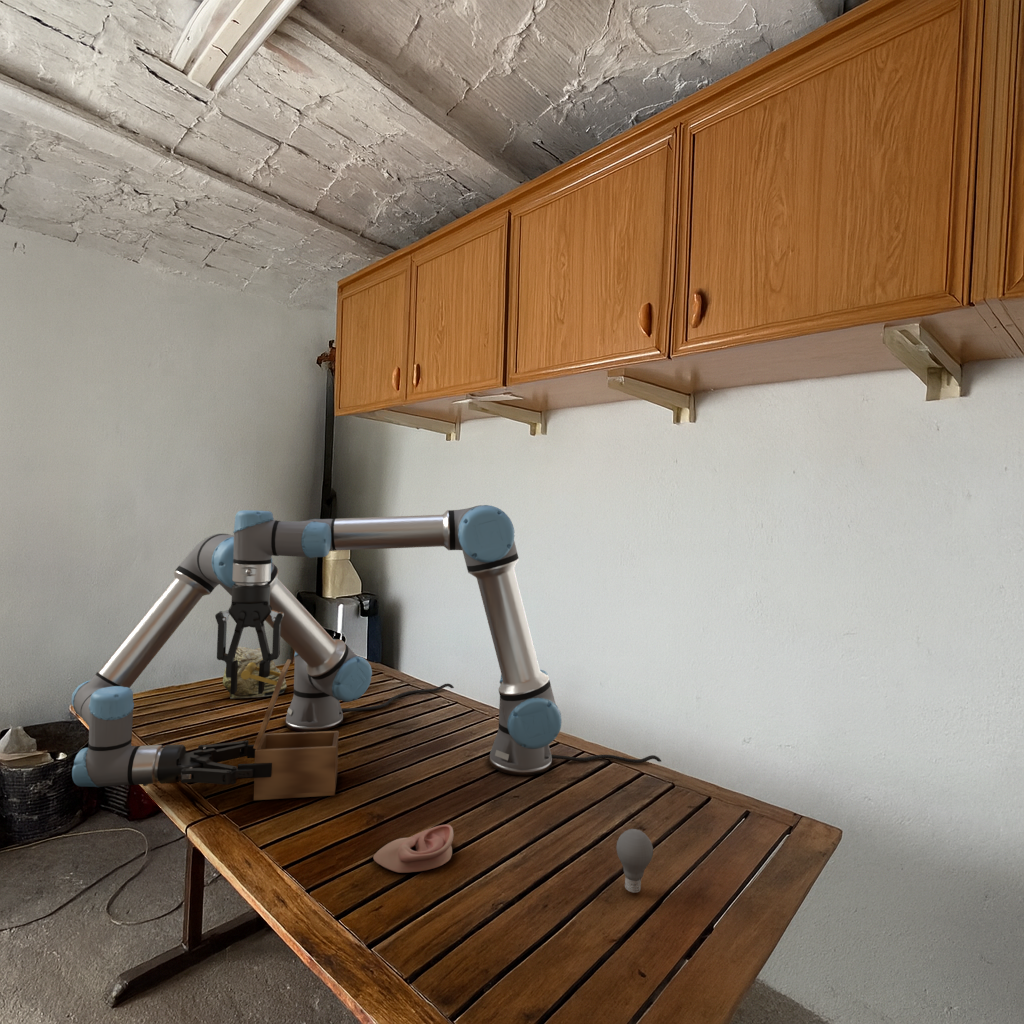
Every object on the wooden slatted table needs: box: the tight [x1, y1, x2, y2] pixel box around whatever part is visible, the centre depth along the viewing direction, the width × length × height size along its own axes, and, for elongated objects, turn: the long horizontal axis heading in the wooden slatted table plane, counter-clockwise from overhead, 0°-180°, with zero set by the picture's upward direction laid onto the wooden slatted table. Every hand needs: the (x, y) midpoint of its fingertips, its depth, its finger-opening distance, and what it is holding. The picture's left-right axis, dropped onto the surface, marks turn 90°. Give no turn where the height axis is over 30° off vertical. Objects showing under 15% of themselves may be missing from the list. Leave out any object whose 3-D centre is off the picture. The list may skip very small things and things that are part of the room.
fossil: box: [222, 646, 288, 699], centre depth 198 cm, size 9×18×15 cm, turn 132°
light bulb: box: [615, 828, 654, 894], centre depth 106 cm, size 6×6×10 cm
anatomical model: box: [372, 824, 455, 874], centre depth 113 cm, size 13×4×12 cm
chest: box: [253, 730, 340, 801], centre depth 137 cm, size 16×10×10 cm, turn 102°
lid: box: [241, 658, 292, 749], centre depth 135 cm, size 17×10×8 cm
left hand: (275, 759), depth 136 cm, fingers closed on chest, 10 cm apart
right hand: (247, 692), depth 135 cm, fingers open, 5 cm apart
